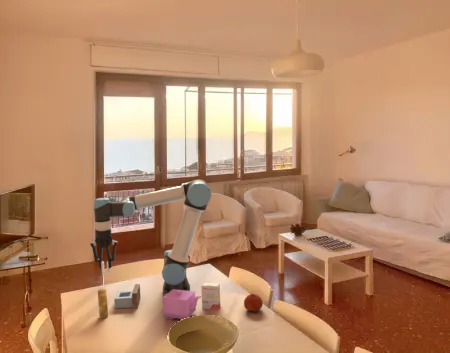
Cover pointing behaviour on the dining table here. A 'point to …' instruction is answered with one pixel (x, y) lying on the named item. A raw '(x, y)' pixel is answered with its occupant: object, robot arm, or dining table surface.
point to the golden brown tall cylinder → (102, 303)
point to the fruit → (253, 302)
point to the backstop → (136, 296)
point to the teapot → (179, 304)
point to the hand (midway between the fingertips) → (106, 274)
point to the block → (123, 299)
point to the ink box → (210, 295)
